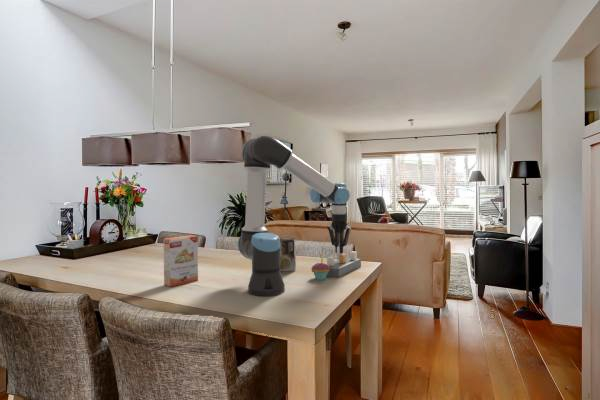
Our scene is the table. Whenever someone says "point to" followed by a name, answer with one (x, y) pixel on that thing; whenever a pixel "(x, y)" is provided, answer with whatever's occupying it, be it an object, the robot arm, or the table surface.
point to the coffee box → (287, 254)
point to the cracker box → (180, 260)
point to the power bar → (343, 267)
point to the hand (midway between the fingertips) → (339, 259)
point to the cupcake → (320, 270)
